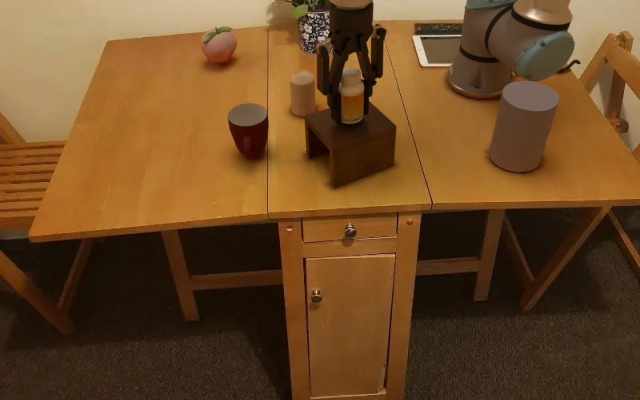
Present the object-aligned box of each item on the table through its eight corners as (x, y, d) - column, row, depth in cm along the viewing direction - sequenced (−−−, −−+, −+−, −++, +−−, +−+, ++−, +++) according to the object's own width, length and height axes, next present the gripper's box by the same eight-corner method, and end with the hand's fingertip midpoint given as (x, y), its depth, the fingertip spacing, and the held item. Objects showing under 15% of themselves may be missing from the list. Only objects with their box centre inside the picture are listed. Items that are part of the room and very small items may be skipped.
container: (484, 141, 124) (497, 80, 113) (533, 141, 123) (551, 80, 113) (493, 173, 116) (508, 111, 106) (545, 173, 116) (565, 111, 106)
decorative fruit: (221, 50, 155) (215, 15, 148) (244, 59, 152) (239, 23, 145) (196, 66, 150) (189, 30, 143) (219, 75, 146) (213, 38, 139)
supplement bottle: (369, 115, 113) (370, 71, 106) (351, 128, 110) (351, 84, 104) (348, 105, 116) (348, 62, 109) (330, 117, 113) (329, 73, 106)
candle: (312, 118, 132) (311, 79, 125) (289, 115, 133) (286, 77, 126) (317, 104, 136) (316, 66, 129) (294, 102, 137) (292, 64, 130)
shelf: (363, 135, 127) (364, 96, 120) (393, 165, 119) (396, 126, 112) (306, 155, 122) (304, 115, 115) (333, 188, 114) (333, 148, 107)
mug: (274, 171, 119) (270, 131, 112) (234, 175, 118) (227, 136, 111) (270, 139, 126) (266, 101, 119) (233, 143, 126) (226, 105, 119)
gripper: (385, -19, 102) (379, 93, 118) (291, 5, 96) (298, 120, 112) (410, -4, 97) (400, 111, 113) (312, 23, 91) (316, 140, 107)
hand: (349, 115), depth 113 cm, fingers closed on supplement bottle, 5 cm apart
